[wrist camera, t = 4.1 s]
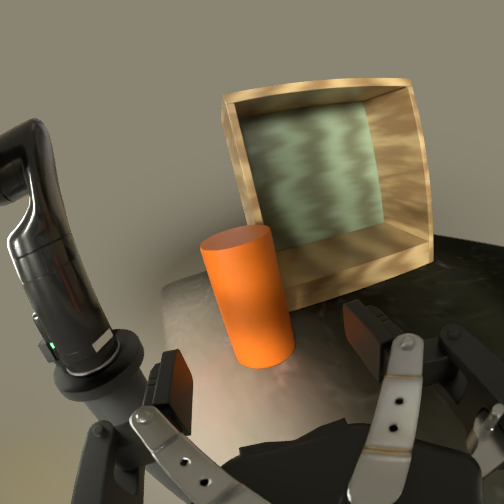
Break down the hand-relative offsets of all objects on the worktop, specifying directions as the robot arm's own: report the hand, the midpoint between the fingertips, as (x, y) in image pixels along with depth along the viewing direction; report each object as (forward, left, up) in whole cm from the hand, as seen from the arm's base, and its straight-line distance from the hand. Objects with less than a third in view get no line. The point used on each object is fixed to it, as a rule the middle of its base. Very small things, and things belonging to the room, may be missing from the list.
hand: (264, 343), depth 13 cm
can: (0, +10, -8) cm, 13 cm away
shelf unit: (+13, +21, -8) cm, 26 cm away
